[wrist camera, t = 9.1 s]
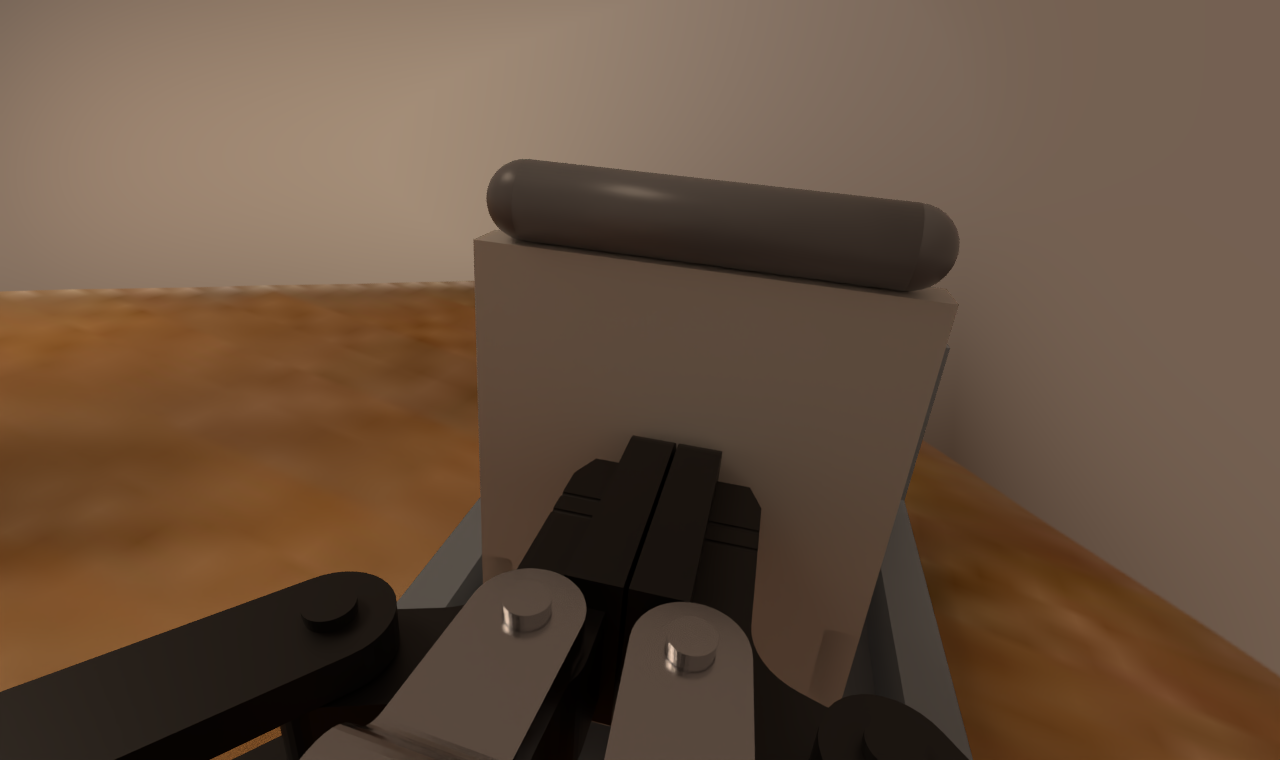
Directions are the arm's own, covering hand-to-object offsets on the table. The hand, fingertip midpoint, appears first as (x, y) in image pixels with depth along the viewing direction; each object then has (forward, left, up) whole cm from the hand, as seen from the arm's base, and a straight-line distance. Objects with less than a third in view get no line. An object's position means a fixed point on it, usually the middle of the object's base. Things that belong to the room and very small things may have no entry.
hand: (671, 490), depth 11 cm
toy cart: (+3, +4, -8) cm, 9 cm away
